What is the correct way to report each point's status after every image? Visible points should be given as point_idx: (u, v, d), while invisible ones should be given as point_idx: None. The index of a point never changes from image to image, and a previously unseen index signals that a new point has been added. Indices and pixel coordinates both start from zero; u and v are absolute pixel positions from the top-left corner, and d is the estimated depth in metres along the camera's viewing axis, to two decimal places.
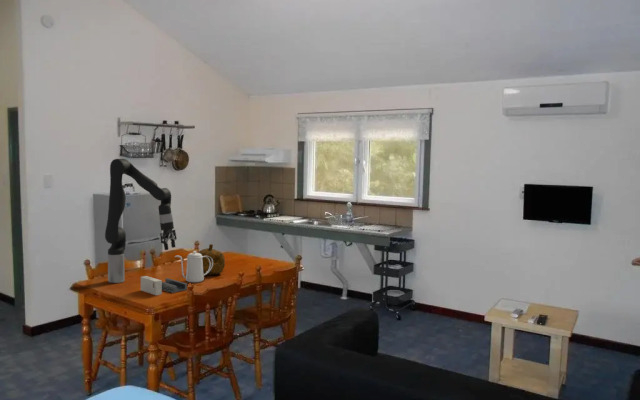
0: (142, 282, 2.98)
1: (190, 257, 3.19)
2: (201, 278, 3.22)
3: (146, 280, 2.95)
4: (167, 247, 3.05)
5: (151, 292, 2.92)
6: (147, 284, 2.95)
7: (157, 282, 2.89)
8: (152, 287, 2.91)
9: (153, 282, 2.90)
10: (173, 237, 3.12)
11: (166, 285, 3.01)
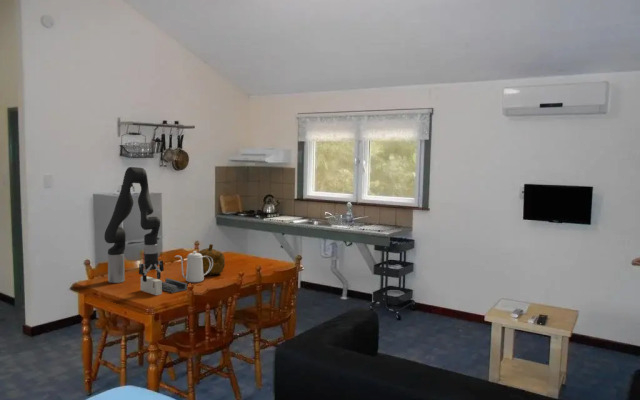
0: (142, 282, 2.98)
1: (190, 257, 3.19)
2: (201, 278, 3.22)
3: None
4: (145, 279, 2.91)
5: (151, 292, 2.92)
6: (147, 284, 2.95)
7: (157, 282, 2.89)
8: (152, 287, 2.91)
9: (154, 282, 2.90)
10: (157, 269, 2.96)
11: (166, 285, 3.01)
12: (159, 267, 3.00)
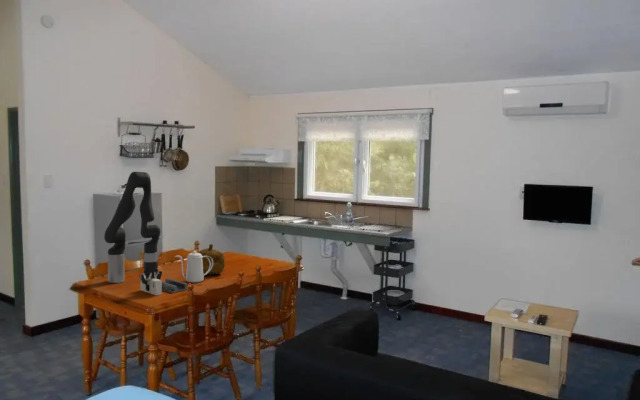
0: None
1: (190, 257, 3.19)
2: (201, 278, 3.22)
3: None
4: (148, 288, 2.93)
5: (151, 292, 2.92)
6: None
7: (157, 282, 2.89)
8: (152, 287, 2.91)
9: (153, 282, 2.90)
10: None
11: (166, 285, 3.01)
12: (156, 277, 2.99)
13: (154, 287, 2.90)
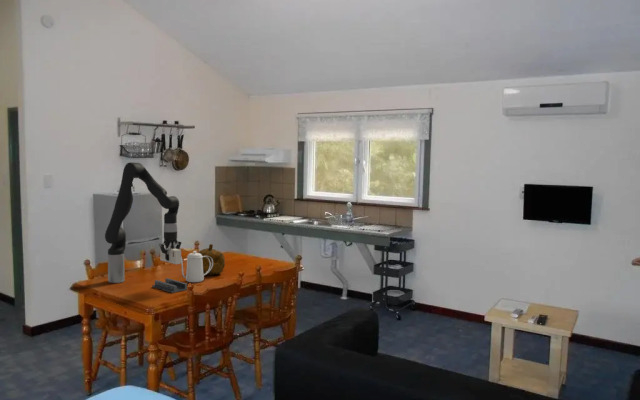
0: (161, 252, 3.07)
1: (190, 257, 3.19)
2: (201, 278, 3.22)
3: None
4: (168, 258, 3.02)
5: (171, 261, 3.01)
6: None
7: (177, 251, 2.98)
8: (172, 256, 3.00)
9: (173, 251, 2.99)
10: (174, 248, 3.04)
11: (166, 285, 3.01)
12: (175, 247, 3.08)
13: (174, 256, 2.99)
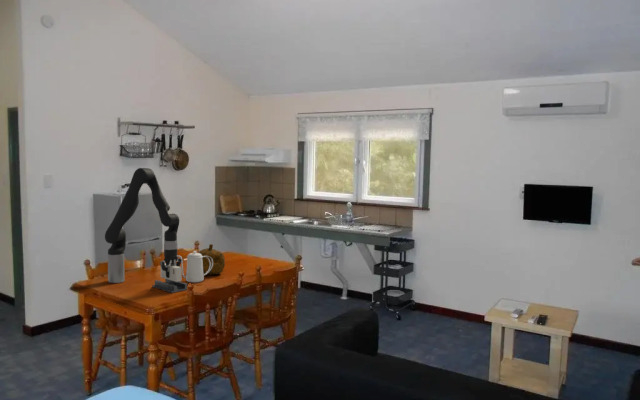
0: None
1: (190, 257, 3.19)
2: (201, 278, 3.22)
3: None
4: (168, 275, 3.03)
5: (171, 278, 3.02)
6: None
7: (177, 269, 2.99)
8: (172, 274, 3.01)
9: (174, 269, 3.00)
10: (174, 265, 3.04)
11: (166, 285, 3.01)
12: (176, 264, 3.08)
13: (174, 274, 3.00)
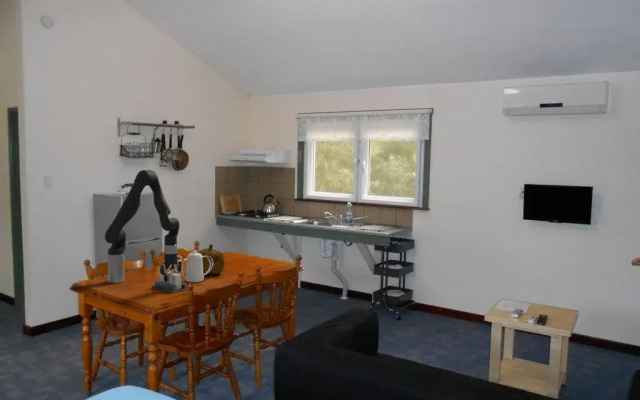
0: (161, 276, 3.08)
1: (190, 257, 3.19)
2: (201, 278, 3.22)
3: None
4: (166, 279, 3.02)
5: None
6: None
7: (177, 276, 2.99)
8: (172, 281, 3.01)
9: (173, 276, 3.00)
10: (175, 269, 3.05)
11: (166, 285, 3.01)
12: (177, 268, 3.09)
13: (174, 281, 3.00)
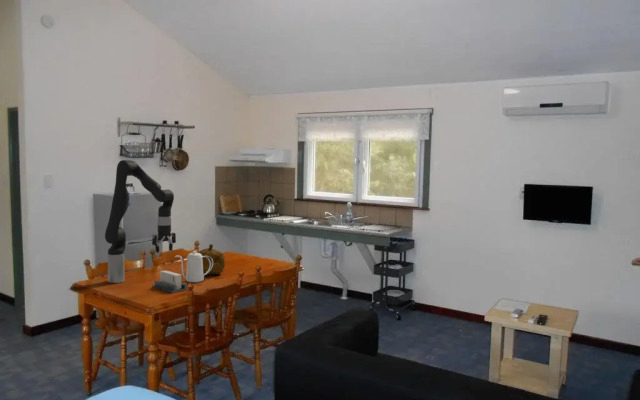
0: (161, 276, 3.08)
1: (190, 257, 3.19)
2: (201, 278, 3.22)
3: (166, 274, 3.05)
4: (158, 250, 3.00)
5: None
6: (167, 278, 3.05)
7: (177, 276, 2.99)
8: (172, 281, 3.01)
9: (173, 276, 3.00)
10: (169, 240, 3.04)
11: (166, 285, 3.01)
12: None
13: (174, 281, 3.00)
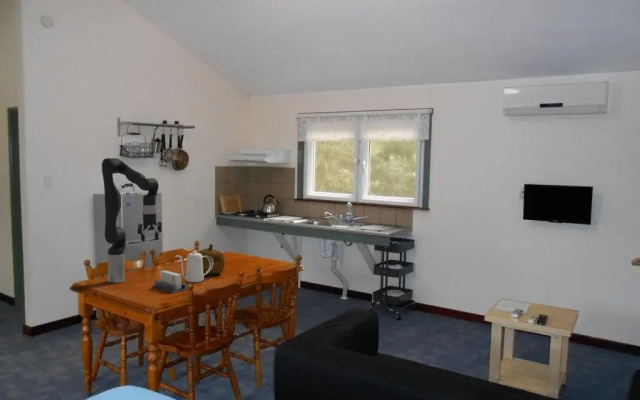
0: (161, 276, 3.08)
1: (190, 257, 3.19)
2: (201, 278, 3.22)
3: (166, 274, 3.05)
4: (143, 239, 2.99)
5: None
6: (167, 278, 3.05)
7: (177, 276, 2.99)
8: (172, 281, 3.01)
9: (173, 276, 3.00)
10: (155, 229, 3.03)
11: (166, 285, 3.01)
12: None
13: (174, 281, 3.00)
